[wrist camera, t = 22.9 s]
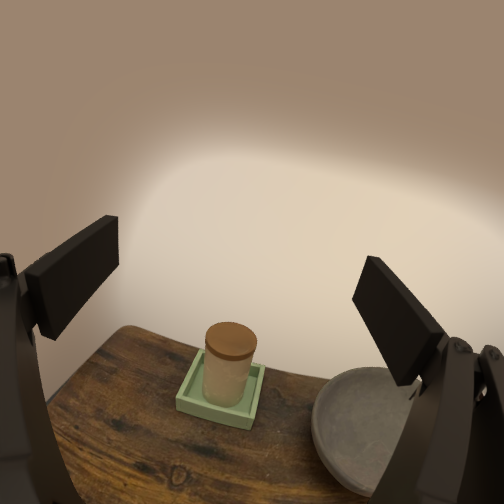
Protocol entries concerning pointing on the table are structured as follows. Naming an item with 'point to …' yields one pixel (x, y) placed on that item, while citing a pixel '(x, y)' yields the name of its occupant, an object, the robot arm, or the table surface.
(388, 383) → the bowl
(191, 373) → the bin
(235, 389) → the tea tin
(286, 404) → the table surface
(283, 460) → the table surface
